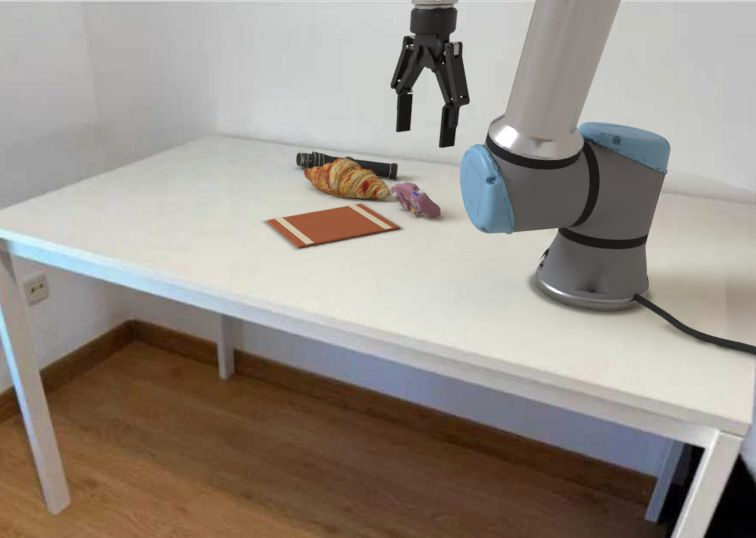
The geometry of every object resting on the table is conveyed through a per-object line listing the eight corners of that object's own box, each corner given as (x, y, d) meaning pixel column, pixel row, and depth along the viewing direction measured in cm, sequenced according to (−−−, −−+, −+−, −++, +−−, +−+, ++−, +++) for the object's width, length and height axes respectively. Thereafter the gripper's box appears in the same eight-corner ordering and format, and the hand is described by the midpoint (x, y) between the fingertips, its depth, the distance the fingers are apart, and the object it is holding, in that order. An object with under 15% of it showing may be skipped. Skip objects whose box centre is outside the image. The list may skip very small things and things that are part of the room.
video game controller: (395, 212, 135) (383, 184, 131) (413, 199, 135) (402, 170, 131) (425, 229, 127) (413, 199, 123) (444, 214, 128) (433, 184, 123)
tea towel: (399, 228, 124) (399, 226, 123) (298, 248, 117) (298, 245, 117) (361, 205, 135) (361, 203, 134) (267, 222, 128) (267, 219, 128)
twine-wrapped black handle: (403, 161, 148) (300, 148, 158) (396, 162, 144) (290, 149, 154) (401, 181, 150) (298, 167, 160) (393, 183, 145) (288, 168, 155)
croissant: (395, 214, 140) (407, 175, 138) (374, 203, 131) (387, 162, 130) (311, 193, 151) (321, 157, 150) (286, 182, 143) (297, 144, 141)
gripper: (503, 9, 104) (485, 151, 114) (411, 2, 123) (403, 123, 134) (462, 12, 101) (448, 156, 112) (375, 4, 121) (370, 127, 132)
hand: (423, 138), depth 123 cm, fingers open, 13 cm apart
